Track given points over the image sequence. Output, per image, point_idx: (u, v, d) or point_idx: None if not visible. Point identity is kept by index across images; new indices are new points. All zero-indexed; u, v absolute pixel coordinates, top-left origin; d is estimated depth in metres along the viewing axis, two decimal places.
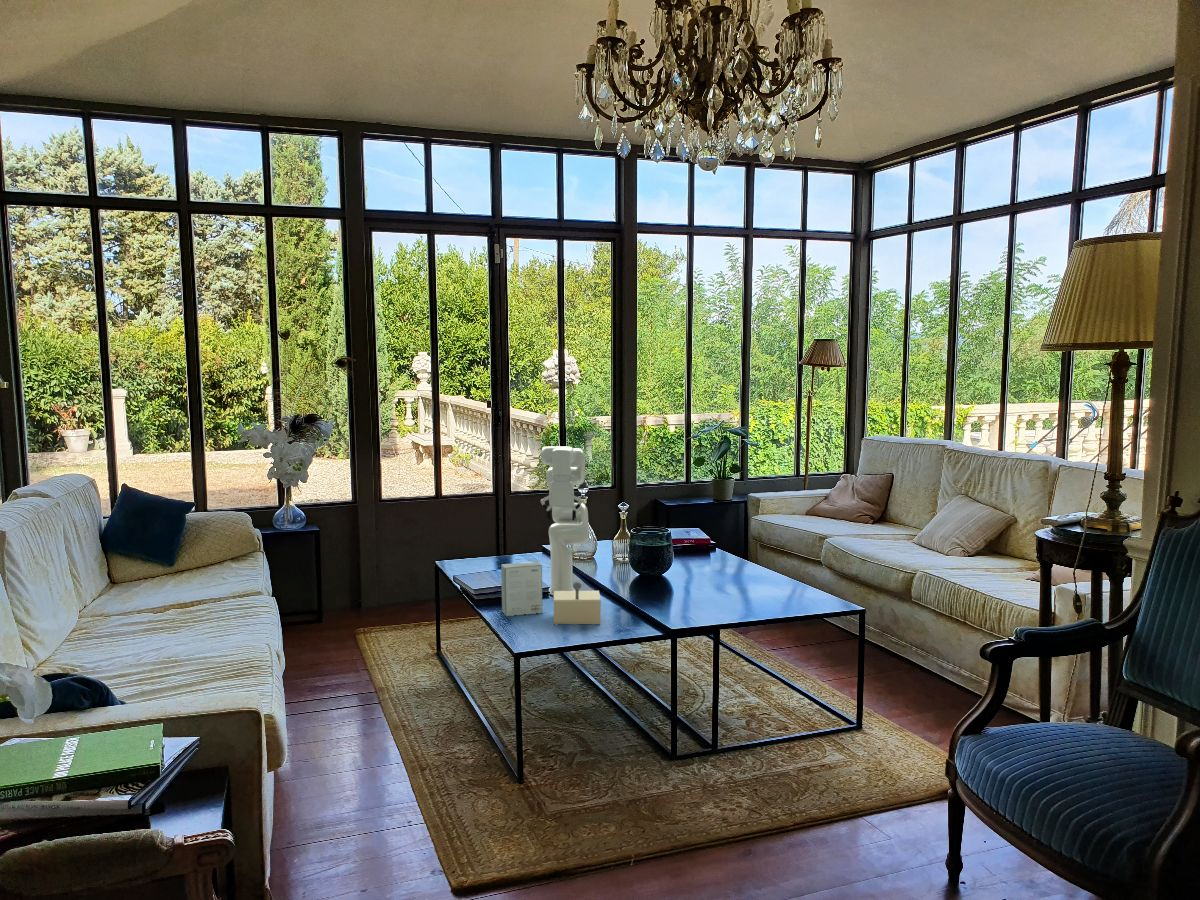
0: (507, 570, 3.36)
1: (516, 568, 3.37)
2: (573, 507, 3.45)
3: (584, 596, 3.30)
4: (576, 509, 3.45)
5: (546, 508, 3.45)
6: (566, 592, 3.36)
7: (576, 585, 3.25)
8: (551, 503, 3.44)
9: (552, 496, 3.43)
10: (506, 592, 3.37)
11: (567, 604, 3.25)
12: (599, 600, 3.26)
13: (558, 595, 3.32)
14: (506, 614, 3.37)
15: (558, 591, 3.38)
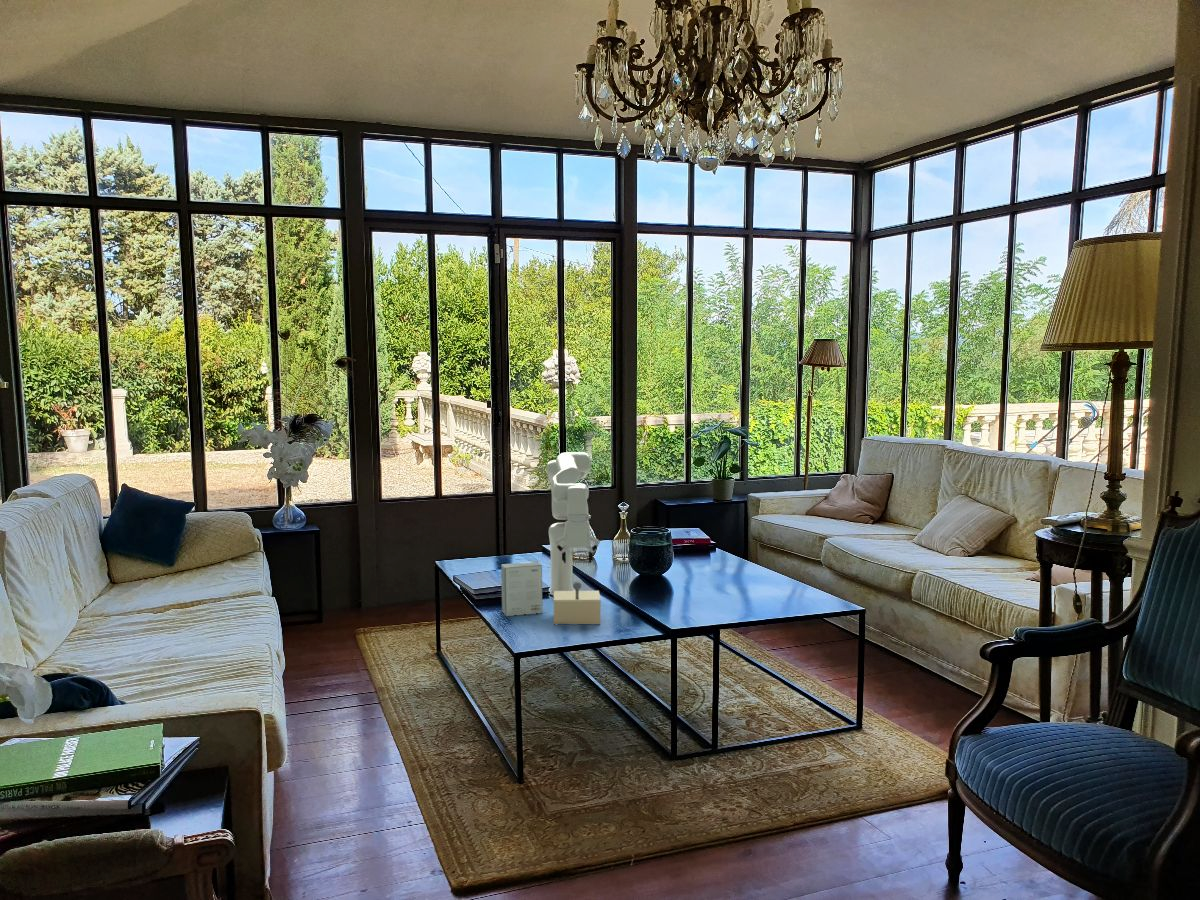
0: (507, 570, 3.36)
1: (516, 568, 3.37)
2: (590, 548, 3.24)
3: (584, 596, 3.30)
4: None
5: (561, 550, 3.24)
6: (566, 592, 3.36)
7: (576, 585, 3.25)
8: (566, 544, 3.22)
9: (567, 537, 3.22)
10: (506, 592, 3.37)
11: (567, 604, 3.25)
12: (599, 600, 3.26)
13: (558, 595, 3.32)
14: (506, 614, 3.37)
15: (558, 591, 3.38)
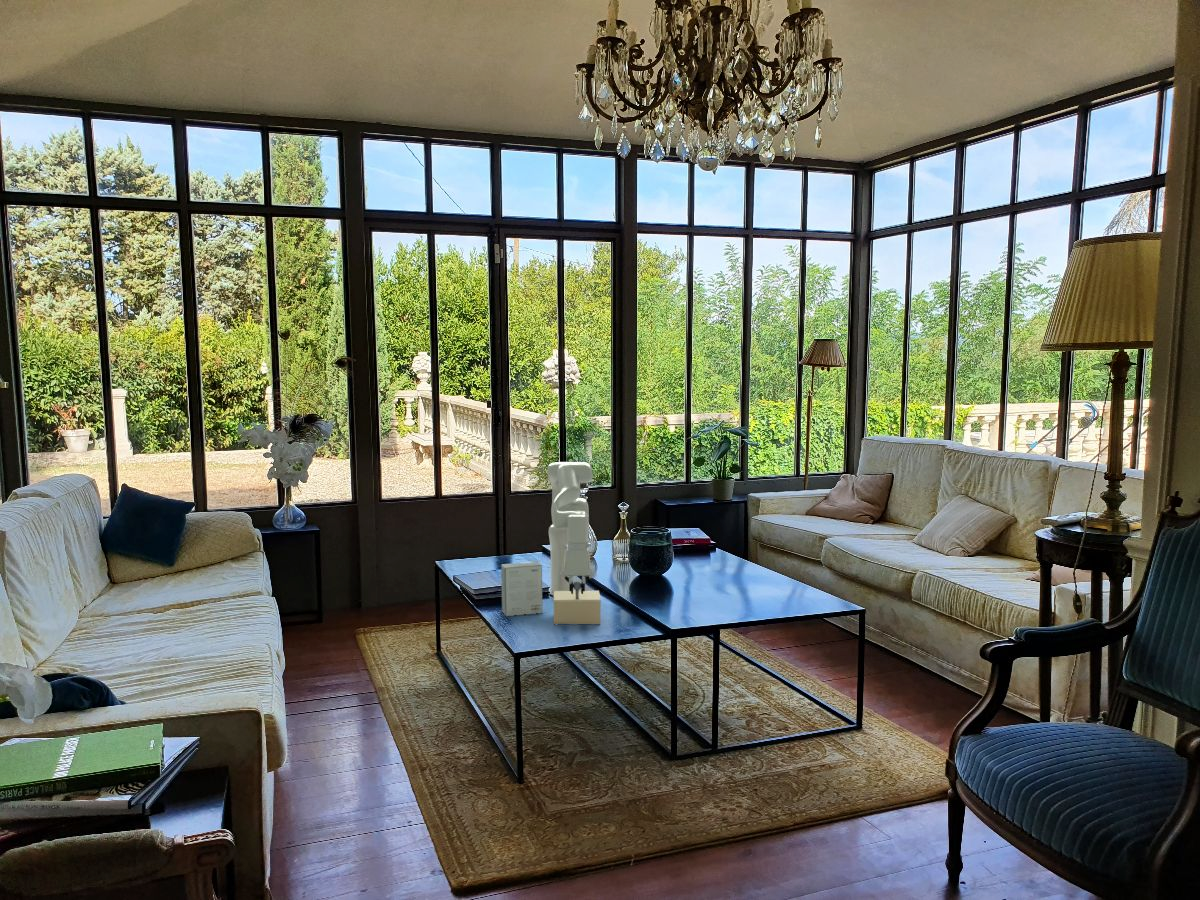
0: (507, 570, 3.36)
1: (516, 568, 3.37)
2: (583, 579, 3.25)
3: (584, 596, 3.30)
4: (585, 582, 3.25)
5: (568, 581, 3.25)
6: (566, 592, 3.36)
7: (576, 585, 3.25)
8: (566, 572, 3.24)
9: (567, 565, 3.23)
10: (506, 592, 3.37)
11: (567, 604, 3.25)
12: (599, 600, 3.26)
13: (558, 595, 3.32)
14: (506, 614, 3.37)
15: (558, 591, 3.38)
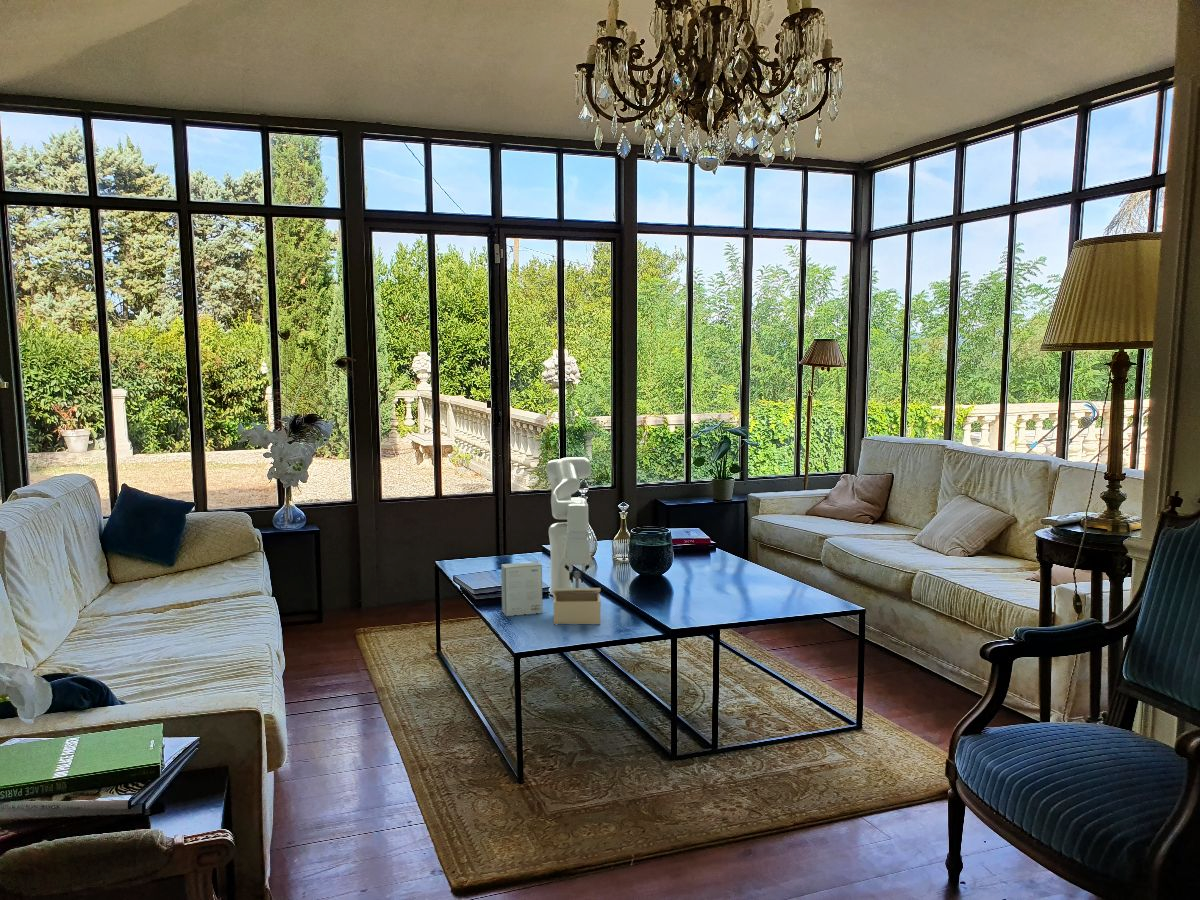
0: (507, 570, 3.36)
1: (516, 568, 3.37)
2: (583, 568, 3.27)
3: None
4: (585, 570, 3.27)
5: (568, 569, 3.28)
6: None
7: (576, 573, 3.27)
8: (566, 561, 3.26)
9: (567, 554, 3.26)
10: (506, 592, 3.37)
11: (567, 604, 3.25)
12: (599, 588, 3.26)
13: None
14: (506, 614, 3.37)
15: None
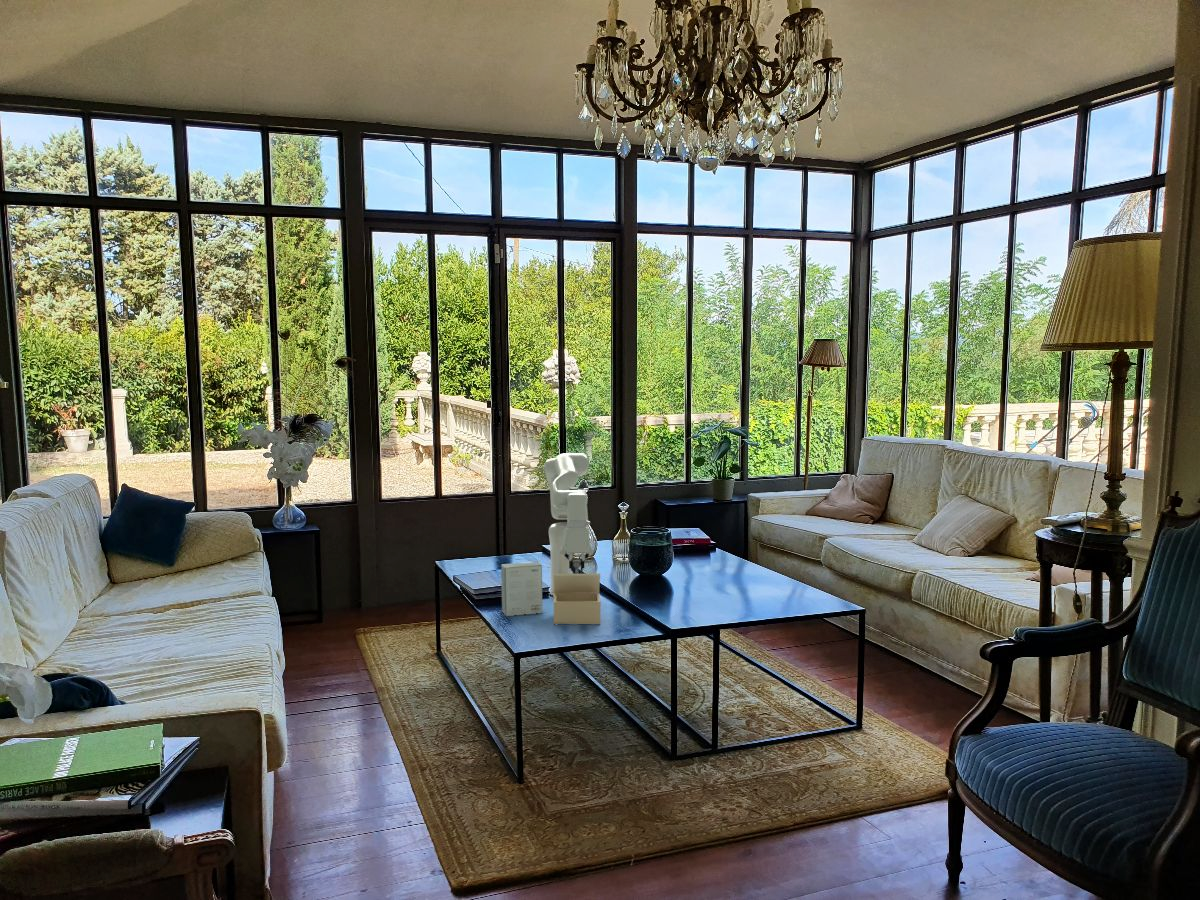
0: (507, 570, 3.36)
1: (516, 568, 3.37)
2: (583, 556, 3.32)
3: None
4: None
5: (568, 558, 3.32)
6: None
7: (576, 560, 3.32)
8: (566, 550, 3.31)
9: (567, 543, 3.30)
10: (506, 592, 3.37)
11: (567, 604, 3.25)
12: (599, 574, 3.29)
13: None
14: (506, 614, 3.37)
15: None
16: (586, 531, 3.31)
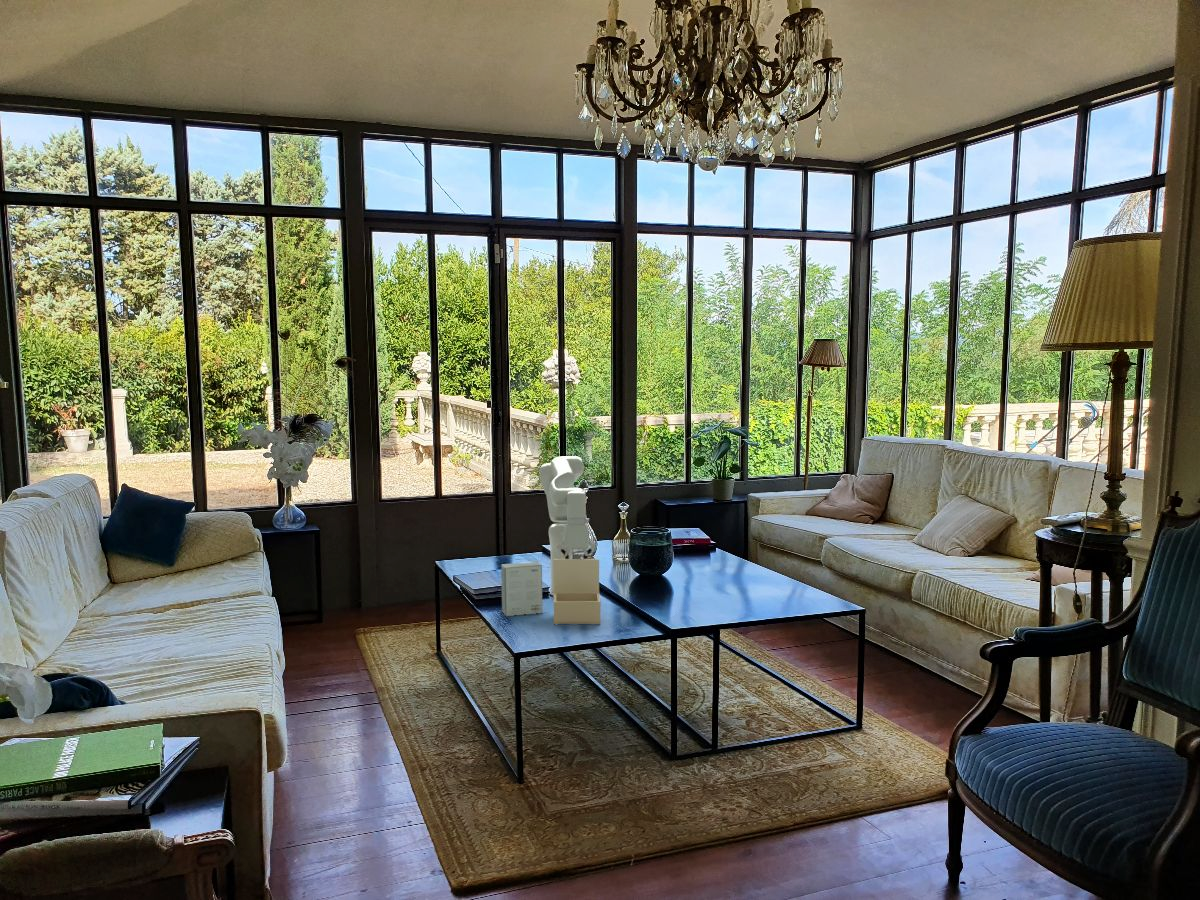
0: (507, 570, 3.36)
1: (516, 568, 3.37)
2: (585, 552, 3.43)
3: None
4: (587, 554, 3.43)
5: (564, 553, 3.43)
6: None
7: (575, 554, 3.43)
8: (566, 546, 3.41)
9: (567, 539, 3.41)
10: (506, 592, 3.37)
11: (567, 604, 3.25)
12: (598, 559, 3.37)
13: None
14: (506, 614, 3.37)
15: None
16: (585, 528, 3.41)
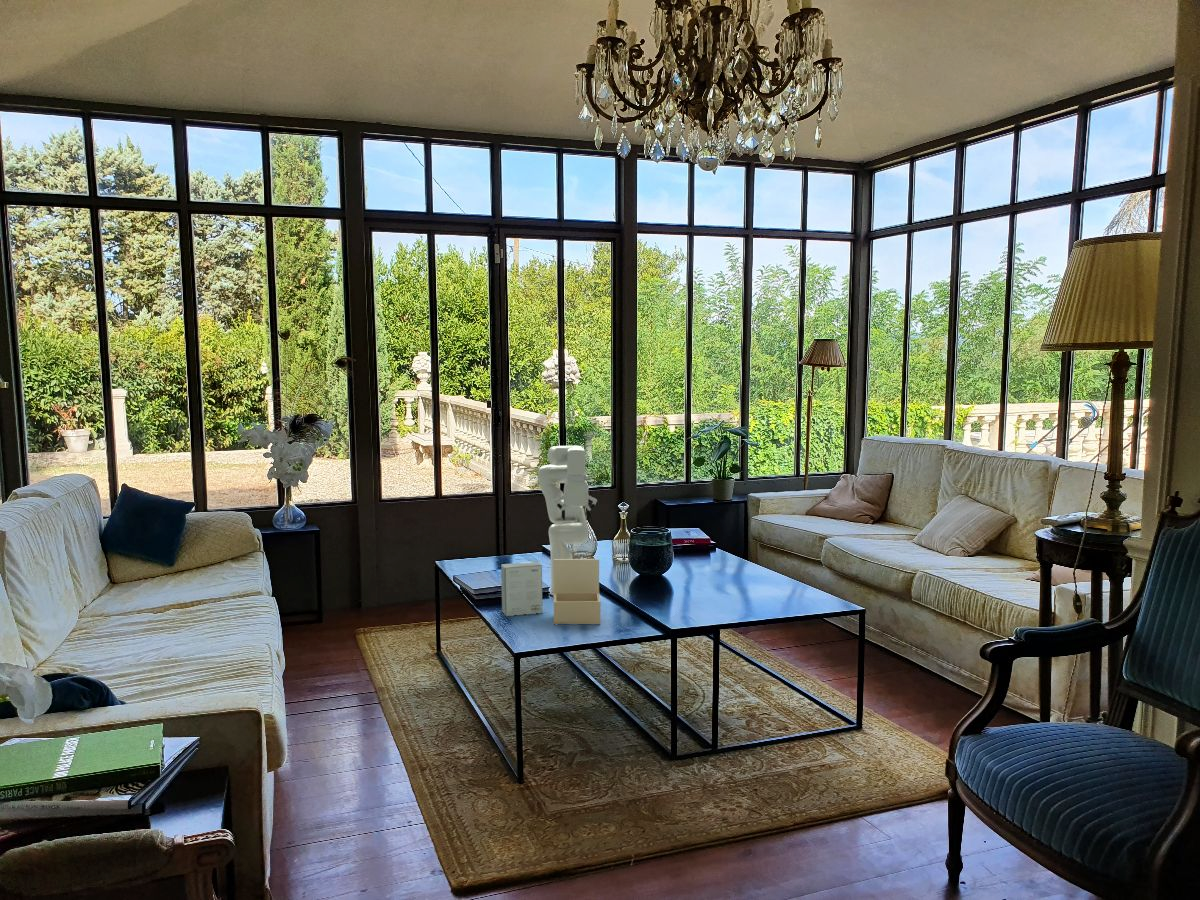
0: (507, 570, 3.36)
1: (516, 568, 3.37)
2: (587, 507, 3.45)
3: None
4: (590, 509, 3.45)
5: (560, 508, 3.45)
6: None
7: (575, 554, 3.43)
8: (566, 503, 3.44)
9: (566, 496, 3.43)
10: (506, 592, 3.37)
11: (567, 604, 3.25)
12: (598, 559, 3.37)
13: None
14: (506, 614, 3.37)
15: None
16: (585, 485, 3.43)
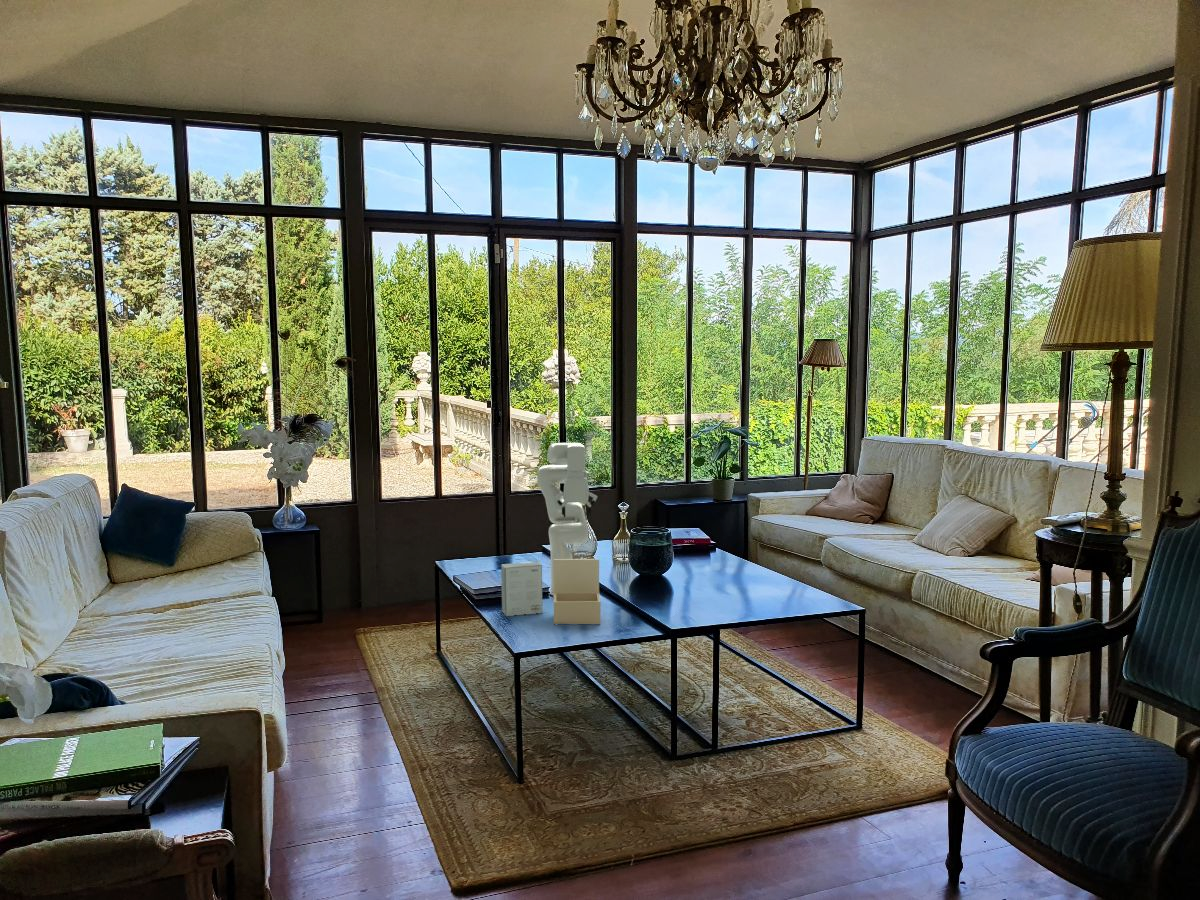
0: (507, 570, 3.36)
1: (516, 568, 3.37)
2: (588, 503, 3.45)
3: None
4: (591, 505, 3.45)
5: (561, 504, 3.45)
6: None
7: (575, 554, 3.43)
8: (566, 499, 3.44)
9: (567, 492, 3.44)
10: (506, 592, 3.37)
11: (567, 604, 3.25)
12: (598, 559, 3.37)
13: None
14: (506, 614, 3.37)
15: None
16: (585, 481, 3.44)
